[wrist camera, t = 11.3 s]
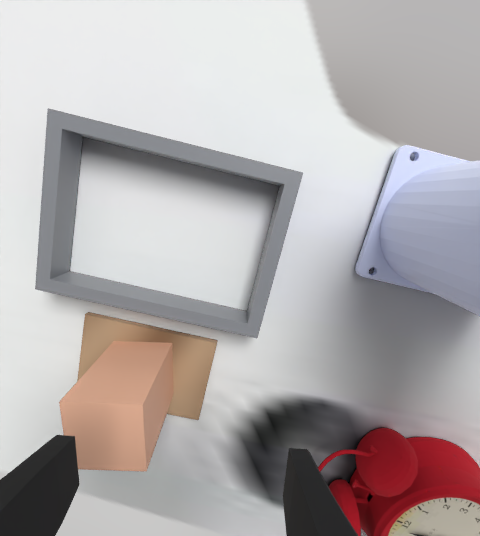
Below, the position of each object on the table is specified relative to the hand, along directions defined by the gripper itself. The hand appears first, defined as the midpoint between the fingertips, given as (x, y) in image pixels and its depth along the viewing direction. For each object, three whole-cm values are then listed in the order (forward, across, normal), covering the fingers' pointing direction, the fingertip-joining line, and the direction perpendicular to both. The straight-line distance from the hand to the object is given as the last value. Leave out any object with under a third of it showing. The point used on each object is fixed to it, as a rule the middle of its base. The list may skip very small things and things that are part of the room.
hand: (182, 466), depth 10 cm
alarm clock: (+11, -15, +12) cm, 22 cm away
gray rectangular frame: (+10, +3, -7) cm, 13 cm away
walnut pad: (+10, +5, +3) cm, 12 cm away
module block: (+10, +5, +3) cm, 11 cm away
